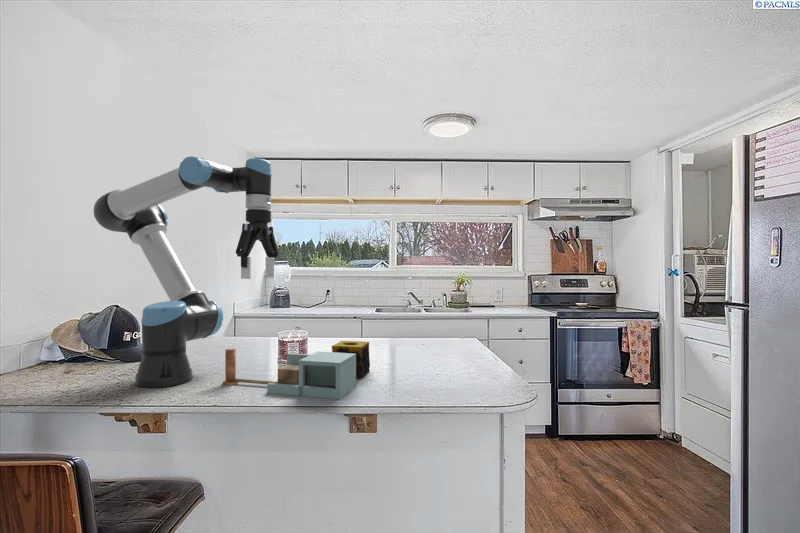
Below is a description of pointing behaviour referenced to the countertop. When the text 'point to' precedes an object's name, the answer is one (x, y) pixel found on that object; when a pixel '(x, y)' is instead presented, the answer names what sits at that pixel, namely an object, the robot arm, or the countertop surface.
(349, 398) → the countertop surface
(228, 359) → the tethered block
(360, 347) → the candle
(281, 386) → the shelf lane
